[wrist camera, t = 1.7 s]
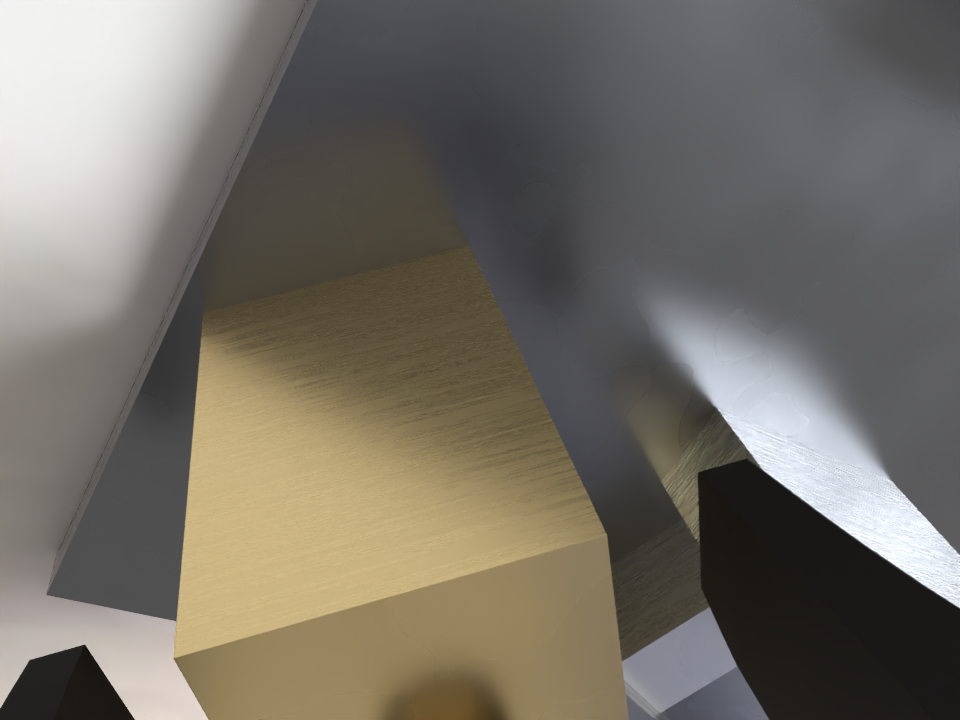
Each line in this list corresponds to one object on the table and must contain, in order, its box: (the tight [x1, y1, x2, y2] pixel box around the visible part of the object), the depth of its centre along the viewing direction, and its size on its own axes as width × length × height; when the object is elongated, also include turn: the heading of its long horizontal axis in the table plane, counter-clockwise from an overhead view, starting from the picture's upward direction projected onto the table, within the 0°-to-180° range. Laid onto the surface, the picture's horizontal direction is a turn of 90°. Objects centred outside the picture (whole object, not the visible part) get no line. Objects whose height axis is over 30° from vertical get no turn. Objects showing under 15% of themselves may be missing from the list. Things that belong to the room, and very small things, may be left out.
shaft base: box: [47, 0, 960, 720], centre depth 12 cm, size 21×17×4 cm
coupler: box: [173, 246, 629, 720], centre depth 11 cm, size 6×4×6 cm, turn 10°
